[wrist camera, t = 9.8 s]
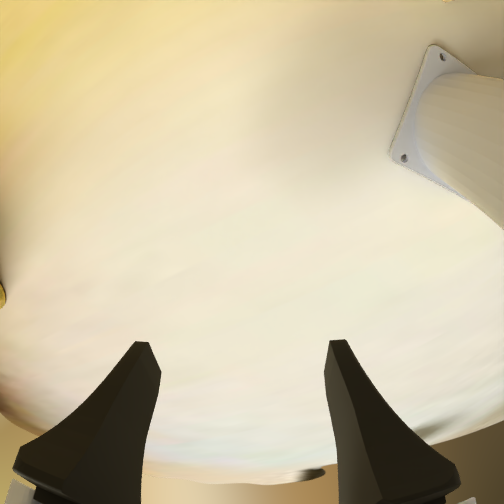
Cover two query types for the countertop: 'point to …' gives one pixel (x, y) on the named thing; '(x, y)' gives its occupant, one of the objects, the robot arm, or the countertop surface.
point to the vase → (2, 296)
